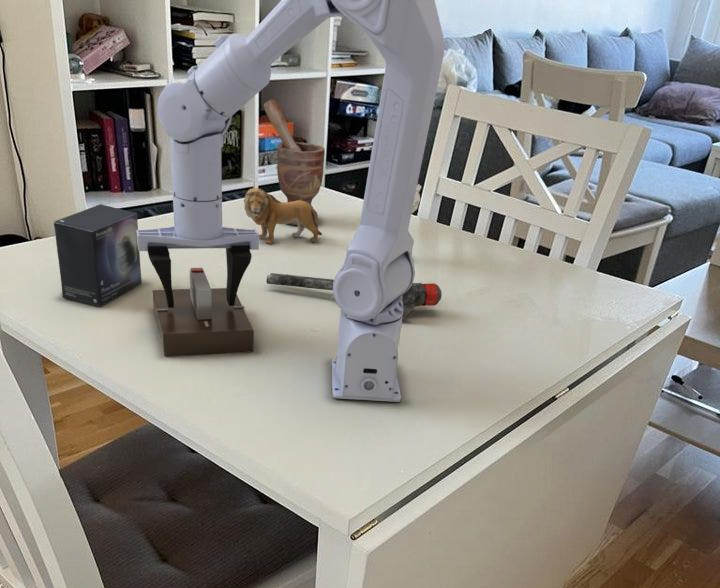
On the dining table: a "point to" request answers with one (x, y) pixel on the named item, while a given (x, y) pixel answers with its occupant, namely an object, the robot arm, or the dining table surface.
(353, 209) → the dining table surface
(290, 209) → the lion figurine
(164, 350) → the block
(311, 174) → the mortar and pestle
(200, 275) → the tap handle
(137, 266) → the small box
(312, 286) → the grey and red tool
